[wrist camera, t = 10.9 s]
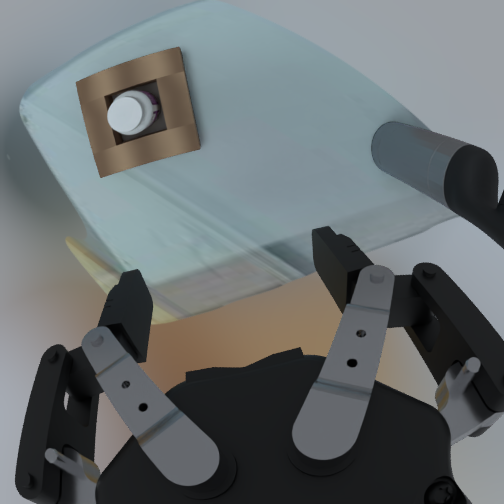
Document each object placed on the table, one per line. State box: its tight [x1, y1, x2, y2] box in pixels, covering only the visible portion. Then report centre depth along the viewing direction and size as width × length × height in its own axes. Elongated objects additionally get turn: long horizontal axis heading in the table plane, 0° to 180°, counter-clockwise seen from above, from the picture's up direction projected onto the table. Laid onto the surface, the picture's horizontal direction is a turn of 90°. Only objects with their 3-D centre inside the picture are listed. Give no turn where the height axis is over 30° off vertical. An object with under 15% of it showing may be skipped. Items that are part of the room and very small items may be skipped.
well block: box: [76, 47, 200, 178], centre depth 32 cm, size 14×14×4 cm
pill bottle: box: [107, 91, 160, 135], centre depth 29 cm, size 5×5×10 cm
